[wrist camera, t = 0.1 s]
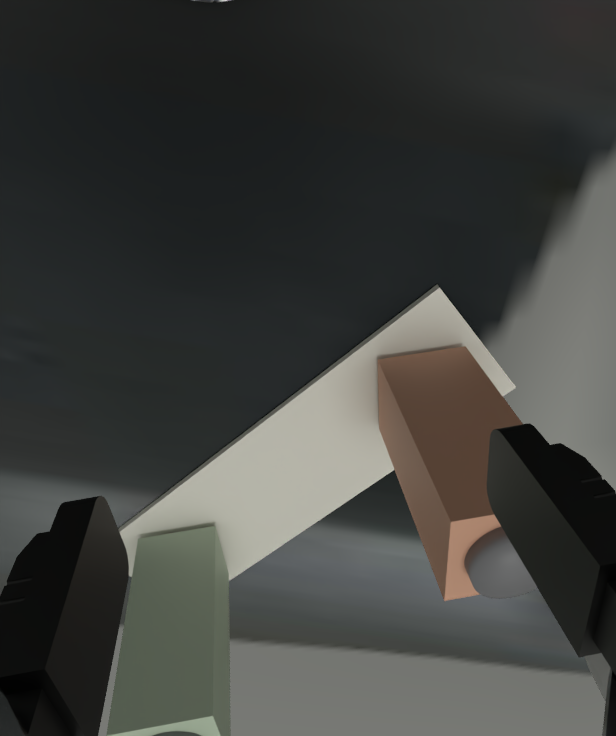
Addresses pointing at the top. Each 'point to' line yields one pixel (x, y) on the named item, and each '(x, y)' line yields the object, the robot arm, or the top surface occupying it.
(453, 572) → the light brown tall block
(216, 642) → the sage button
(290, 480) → the button board
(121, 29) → the top surface
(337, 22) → the top surface
